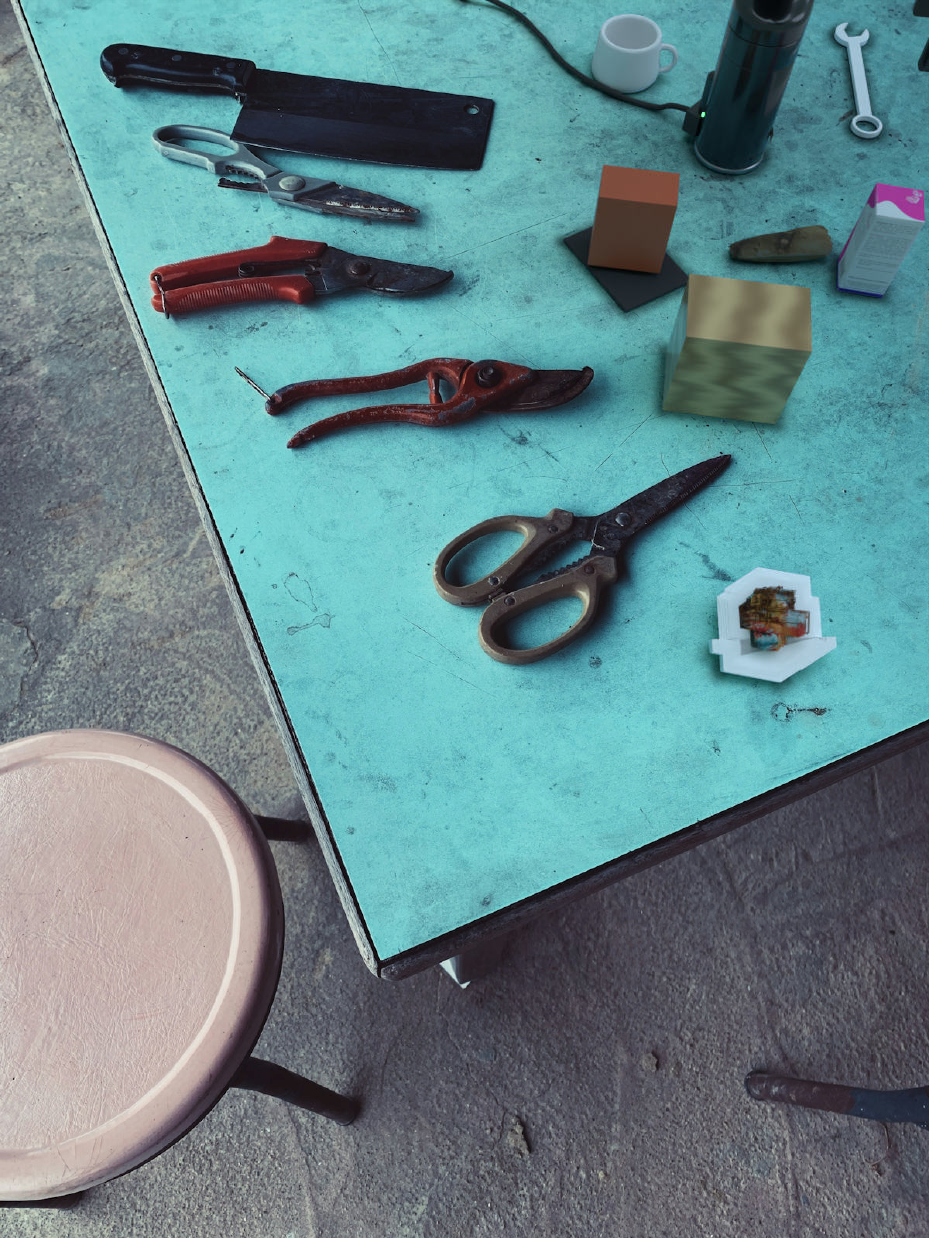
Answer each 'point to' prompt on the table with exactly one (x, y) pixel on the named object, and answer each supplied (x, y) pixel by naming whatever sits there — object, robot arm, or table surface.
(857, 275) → the supplement box
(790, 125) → the table surface
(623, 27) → the mug
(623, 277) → the mat
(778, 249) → the stone
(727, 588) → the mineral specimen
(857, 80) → the wrench
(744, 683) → the table surface
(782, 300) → the stand
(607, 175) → the block
